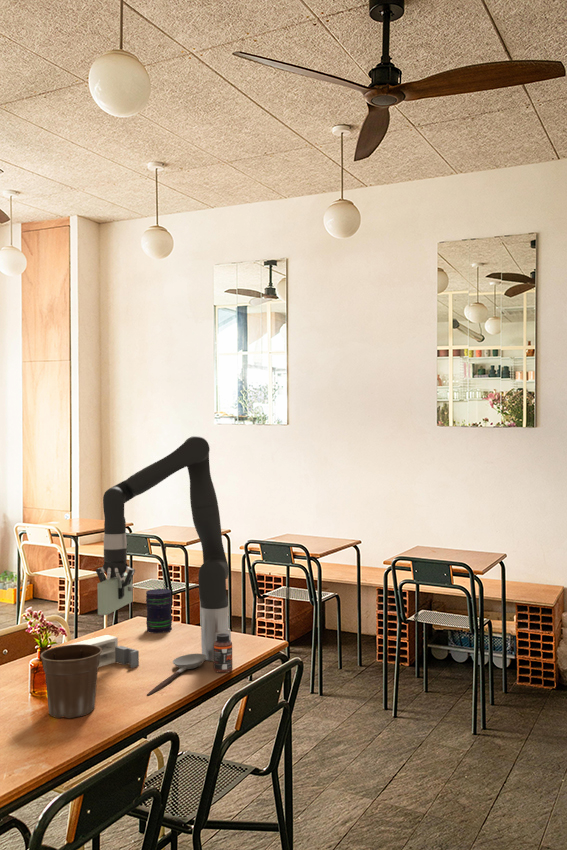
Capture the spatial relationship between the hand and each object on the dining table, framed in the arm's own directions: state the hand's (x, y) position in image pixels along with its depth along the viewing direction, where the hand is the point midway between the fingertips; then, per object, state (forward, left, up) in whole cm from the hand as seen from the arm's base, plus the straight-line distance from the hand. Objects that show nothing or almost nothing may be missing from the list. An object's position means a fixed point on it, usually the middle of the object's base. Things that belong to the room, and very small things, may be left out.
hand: (115, 598), depth 244 cm
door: (0, 0, -3) cm, 3 cm away
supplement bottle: (-35, -16, -22) cm, 44 cm away
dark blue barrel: (+21, -36, -22) cm, 47 cm away
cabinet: (-1, +9, -21) cm, 23 cm away
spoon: (-28, -1, -22) cm, 35 cm away
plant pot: (-27, +34, -22) cm, 48 cm away
